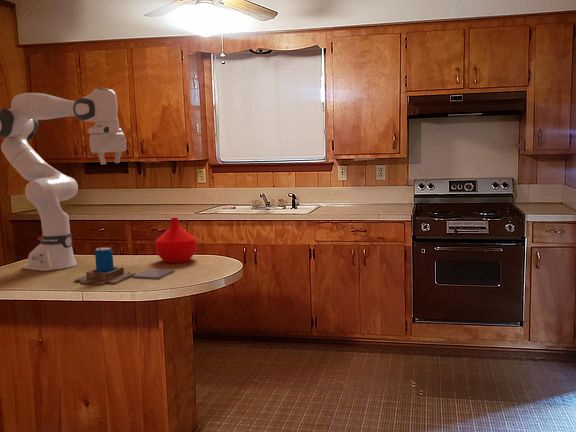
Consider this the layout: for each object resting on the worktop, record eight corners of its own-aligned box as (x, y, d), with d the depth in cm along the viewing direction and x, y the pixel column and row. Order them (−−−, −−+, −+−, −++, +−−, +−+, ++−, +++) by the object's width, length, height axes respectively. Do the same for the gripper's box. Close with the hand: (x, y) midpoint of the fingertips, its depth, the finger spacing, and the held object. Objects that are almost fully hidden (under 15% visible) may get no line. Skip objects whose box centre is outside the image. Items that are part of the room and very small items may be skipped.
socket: (71, 283, 216) (70, 274, 215) (100, 272, 233) (99, 263, 232) (112, 285, 211) (111, 276, 210) (138, 273, 228) (137, 265, 227)
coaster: (132, 277, 222) (132, 275, 222) (148, 270, 233) (148, 268, 233) (159, 279, 218) (159, 277, 218) (174, 271, 229) (174, 269, 229)
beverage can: (99, 276, 225) (97, 247, 223) (115, 276, 225) (113, 246, 224) (95, 281, 218) (92, 250, 217) (112, 280, 219) (110, 249, 217)
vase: (148, 265, 243) (145, 221, 240) (166, 255, 261) (164, 215, 258) (188, 266, 239) (185, 221, 236) (204, 256, 257) (201, 215, 254)
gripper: (116, 129, 237) (118, 162, 239) (85, 129, 218) (88, 165, 220) (129, 128, 235) (131, 162, 237) (99, 128, 216) (102, 165, 218)
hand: (110, 163), depth 228 cm, fingers open, 8 cm apart
